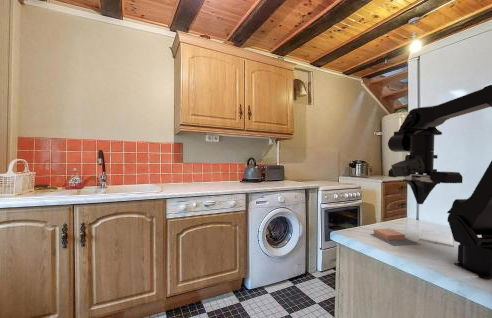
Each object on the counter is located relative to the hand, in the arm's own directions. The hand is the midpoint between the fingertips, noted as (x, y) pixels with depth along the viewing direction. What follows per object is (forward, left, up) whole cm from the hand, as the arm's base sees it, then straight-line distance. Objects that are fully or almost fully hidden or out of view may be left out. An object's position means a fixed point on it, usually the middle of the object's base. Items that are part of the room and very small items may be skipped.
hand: (419, 204), depth 68 cm
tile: (+3, +5, -11) cm, 12 cm away
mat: (+4, +5, -12) cm, 14 cm away
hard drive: (+3, -10, -13) cm, 16 cm away
